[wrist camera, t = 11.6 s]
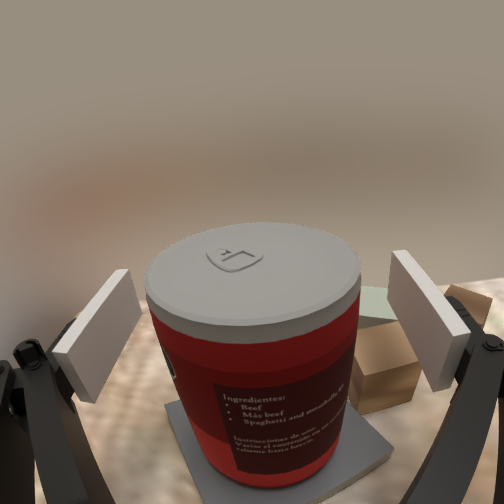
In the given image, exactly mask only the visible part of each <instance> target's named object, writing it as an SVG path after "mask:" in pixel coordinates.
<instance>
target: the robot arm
mask: <svg viewBox="0 0 504 504" xmlns="http://www.w3.org/2000/svg"><path fill="white" fill-rule="evenodd" d="M387 300H388V302H389V304H390V306H391V308H392V310H393V312H394V314H395V315H396V317H397V319H398V321H399V323H400V325H401V327H402V329H403V331H404V333H405V335H406V337H407V339H408V341H409V343H410V345H411V347H412V349H413V351H414V353H415V355H416V357H417V359H418V361H419V363H420V365H421V367H422V369H423V371H424V374H425V376H426V378H427V380H428V382H429V384H430V387H431V389H432V391H433V392H436V391H440V390H444V389H448V388H450V386H451V384H452V382H453V379H454V377H455V379H456V381H457V383H458V386H457V388H456V391H455V393H454V395H453V397H452V399H451V401H450V403H451V404H450V406H449V409H448V411H447V413H446V416H445V418H444V420H443V423H442V425H441V427H440V429H439V432H438V434H437V436H436V438H435V440H434V442H433V444H432V446H431V448H430V450H429V452H428V454H427V456H426V458H425V460H424V462H423V464H422V466H421V468H420V469H419V471H418V473H417V475H416V477H415V478H414V480H413V482H412V484H411V485H410V487H409V489H408V490H407V492H406V494H405V495H404V497H403V499H402V500H401V502H400V503H399V504H461V503H462V501H463V498H464V496H465V494H466V492H467V489H468V487H469V484H470V482H471V480H472V477H473V475H474V472H475V469H476V467H477V464H478V461H479V459H480V456H481V453H482V450H483V447H484V444H485V441H486V438H487V434H488V431H489V428H490V424H491V421H492V417H493V413H494V409H495V405H496V401H497V398H498V404H499V444H498V463H497V475H496V485H495V493H494V501H493V504H504V341H503V340H502V339H500V338H499V337H497V336H495V335H492V334H485V332H484V331H483V330H482V328H481V327H480V326H479V325H478V323H477V322H476V321H475V319H474V318H473V317H472V316H471V314H470V313H469V312H468V310H466V308H465V307H464V305H463V304H462V303H461V302H460V301H459V300H457V299H456V298H454V297H453V296H445V297H444V295H443V294H442V293H441V292H440V290H439V289H438V288H437V287H436V285H435V284H434V283H433V282H432V280H431V279H430V278H429V277H428V276H427V275H426V273H425V272H424V271H423V270H422V268H421V267H420V266H419V265H418V264H417V263H416V261H415V260H414V259H413V258H412V256H411V255H410V254H409V253H408V252H407V251H406V250H398V251H392V257H391V267H390V276H389V285H388V293H387ZM141 315H142V311H141V308H140V305H139V301H138V298H137V295H136V292H135V288H134V285H133V281H132V278H131V275H130V271H129V269H121V270H116V271H115V272H114V274H113V275H112V276H111V277H110V278H109V279H108V280H107V282H106V283H105V284H104V285H103V286H102V288H101V289H100V290H99V291H98V292H97V294H96V295H95V296H94V298H93V299H92V300H91V301H90V302H89V304H88V305H87V306H86V307H85V309H84V310H83V311H82V312H81V314H80V315H79V316H78V317H77V318H75V319H73V320H72V321H71V322H69V323H68V324H67V325H66V326H65V328H64V329H63V330H62V333H60V334H59V335H58V338H56V339H55V341H54V342H53V343H52V345H51V346H50V347H49V349H48V350H47V351H46V353H44V351H43V349H42V347H41V345H40V343H39V341H38V340H36V339H28V340H25V341H23V342H21V343H20V344H19V345H18V346H16V348H15V349H14V351H13V355H14V357H15V359H16V360H17V362H18V364H19V366H20V367H21V368H17V369H13V368H12V367H11V365H10V364H9V362H8V361H6V360H1V361H0V504H35V478H34V472H35V461H36V465H37V470H38V474H39V477H40V481H41V485H42V488H43V492H44V495H45V499H46V502H47V504H116V503H115V501H114V499H113V497H112V495H111V493H110V491H109V489H108V487H107V485H106V483H105V481H104V479H103V476H102V474H101V472H100V470H99V467H98V465H97V463H96V460H95V458H94V456H93V453H92V451H91V448H90V446H89V443H88V441H87V438H86V435H85V433H84V430H83V427H82V424H81V421H80V418H79V416H78V413H77V410H76V406H75V403H74V402H73V400H72V399H71V397H72V395H73V393H74V392H75V393H76V395H77V396H78V398H79V400H80V401H83V402H88V403H94V404H95V402H96V400H97V398H98V396H99V394H100V392H101V390H102V388H103V386H104V384H105V382H106V380H107V378H108V377H109V375H110V373H111V371H112V369H113V367H114V365H115V363H116V361H117V359H118V357H119V355H120V354H121V352H122V350H123V348H124V346H125V344H126V342H127V340H128V339H129V337H130V335H131V333H132V331H133V329H134V328H135V326H136V324H137V322H138V320H139V319H140V317H141ZM9 408H10V409H11V411H10V410H9Z"/></svg>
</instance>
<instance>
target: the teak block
mask: <svg viewBox="0 0 504 504" xmlns="http://www.w3.org/2000/svg"><path fill="white" fill-rule="evenodd" d="M421 371H422V367H421V365H420V363H419V361H418V359H417V357H416V355H415V353H414V351H413V349H412V347H411V345H410V343H409V341H408V339H407V337H406V335H405V333H404V331H403V329H402V327H401V325H400V323H399V322H398V321H396V322H392V323H387V324H382V325H378V326H373V327H368V328H364V329H359V330H357V337H356V345H355V352H354V359H353V366H352V373H351V379H350V385H349V391H348V397H349V400H350V402H351V405H352V407H353V408H354V409H355V410H356V411H357V412H358V413H359V414H360V415H363V414H367V413H371V412H375V411H378V410H382V409H385V408H389V407H392V406H396V405H399V404H402V403H405V402H408V401H411V400H412V397H413V394H414V391H415V388H416V386H417V383H418V380H419V377H420V374H421Z"/></svg>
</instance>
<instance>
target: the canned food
mask: <svg viewBox="0 0 504 504" xmlns="http://www.w3.org/2000/svg"><path fill="white" fill-rule="evenodd" d="M144 275H145V276H144V286H145V290H146V300H147V303H148V306H149V310H150V313H151V316H152V321H153V325H154V328H155V331H156V334H157V337H158V340H159V343H160V346H161V349H162V352H163V354H164V357H165V360H166V363H167V366H168V368H169V371H170V374H171V376H172V379H173V382H174V384H175V387H176V390H177V392H178V395H179V397H180V400H181V402H182V405H183V407H184V410H185V412H186V415H187V417H188V419H189V422H190V424H191V426H192V429H193V431H194V433H195V436H196V438H197V440H198V442H199V445H200V447H201V449H202V451H203V453H204V455H205V456H206V458H207V459H208V460H209V461H210V463H211V464H212V465H213V466H214V467H215V468H217V469H218V470H219V471H221V472H222V473H223V474H225V475H226V476H228V477H230V478H232V479H234V480H236V481H238V482H240V483H242V484H246V485H250V486H253V487H261V488H277V487H285V486H288V485H292V484H295V483H298V482H300V481H302V480H304V479H306V478H308V477H310V476H311V475H313V474H314V473H315V472H316V471H318V470H319V469H320V468H321V467H323V466H324V465H325V464H326V462H327V461H328V460H329V459H330V457H331V456H332V455H333V453H334V451H335V449H336V447H337V445H338V442H339V437H340V433H341V428H342V423H343V418H344V413H345V407H346V402H347V396H348V391H349V385H350V379H351V373H352V366H353V359H354V352H355V345H356V337H357V329H358V321H359V308H360V293H361V273H360V261H359V258H358V255H357V253H356V252H355V251H354V249H353V248H352V247H351V246H350V245H349V244H348V243H346V242H345V241H343V240H342V239H340V238H339V237H337V236H334V235H332V234H330V233H328V232H325V231H322V230H318V229H315V228H312V227H307V226H302V225H297V224H289V223H274V222H273V223H272V222H258V223H244V224H235V225H229V226H223V227H218V228H214V229H210V230H206V231H203V232H200V233H197V234H194V235H191V236H189V237H187V238H184V239H182V240H180V241H178V242H176V243H174V244H173V245H171V246H169V247H168V248H166V249H165V250H163V251H162V252H161V253H160V254H158V255H157V256H156V257H155V258H154V259H153V261H152V262H151V263H150V264H149V265H148V268H147V270H146V272H145V274H144Z"/></svg>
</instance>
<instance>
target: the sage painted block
mask: <svg viewBox="0 0 504 504" xmlns="http://www.w3.org/2000/svg"><path fill="white" fill-rule="evenodd" d="M387 293H388V288H379V287H370V286H361V293H360V308H359V321H358V329H357V330H359V329H364V328H368V327H373V326H378V325H382V324H387V323H392V322H396V321H398V319H397V317H396V315H395V314H394V312H393V310H392V308H391V306H390V304H389V302H388V300H387ZM398 322H399V321H398Z"/></svg>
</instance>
